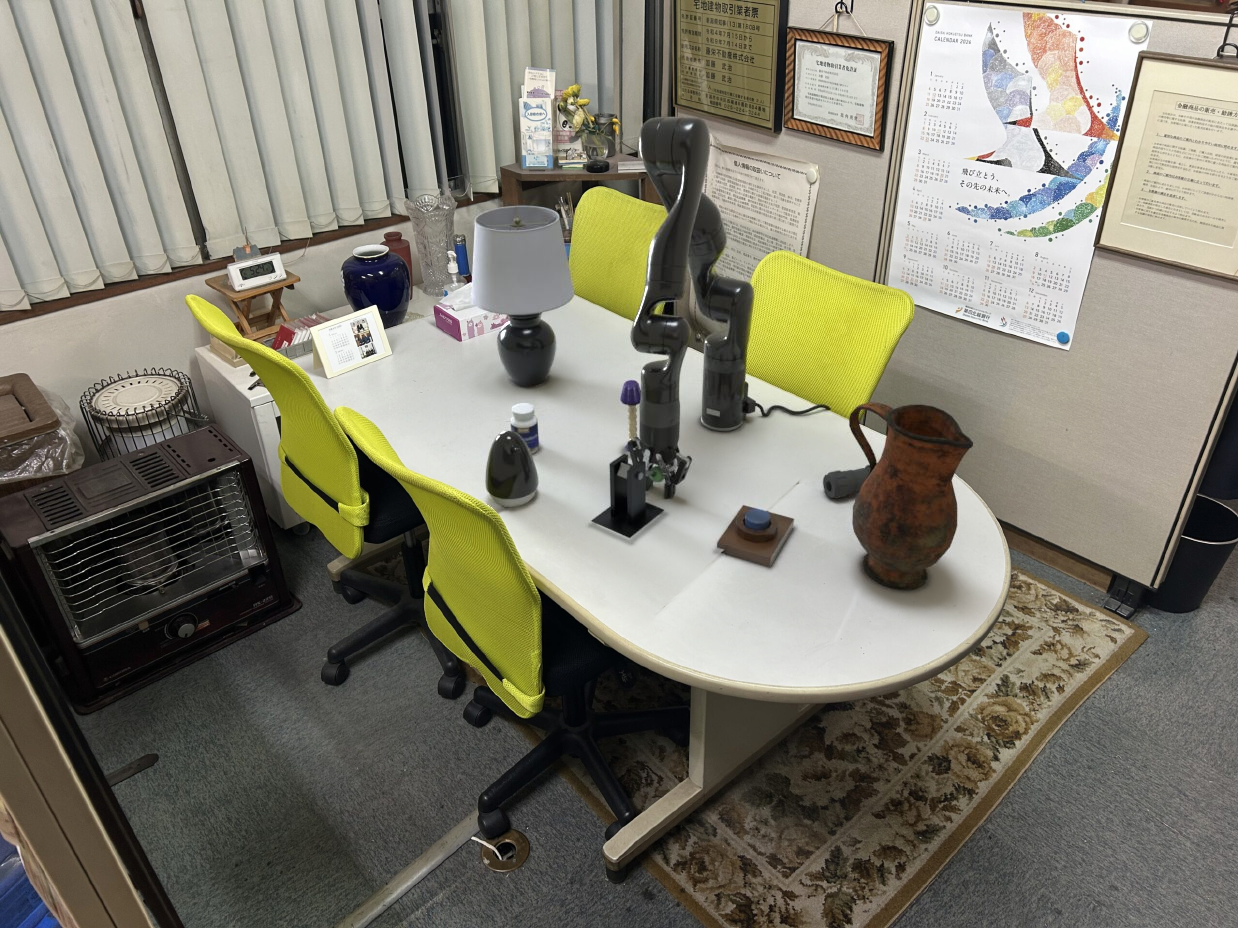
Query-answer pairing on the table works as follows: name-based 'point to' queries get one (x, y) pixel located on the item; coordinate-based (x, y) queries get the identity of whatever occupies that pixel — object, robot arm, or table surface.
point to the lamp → (521, 284)
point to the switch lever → (653, 473)
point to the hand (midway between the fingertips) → (658, 492)
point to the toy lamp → (631, 405)
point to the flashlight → (844, 482)
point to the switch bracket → (627, 500)
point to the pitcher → (908, 493)
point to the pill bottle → (526, 425)
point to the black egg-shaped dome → (510, 471)
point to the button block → (755, 538)
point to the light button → (757, 519)
